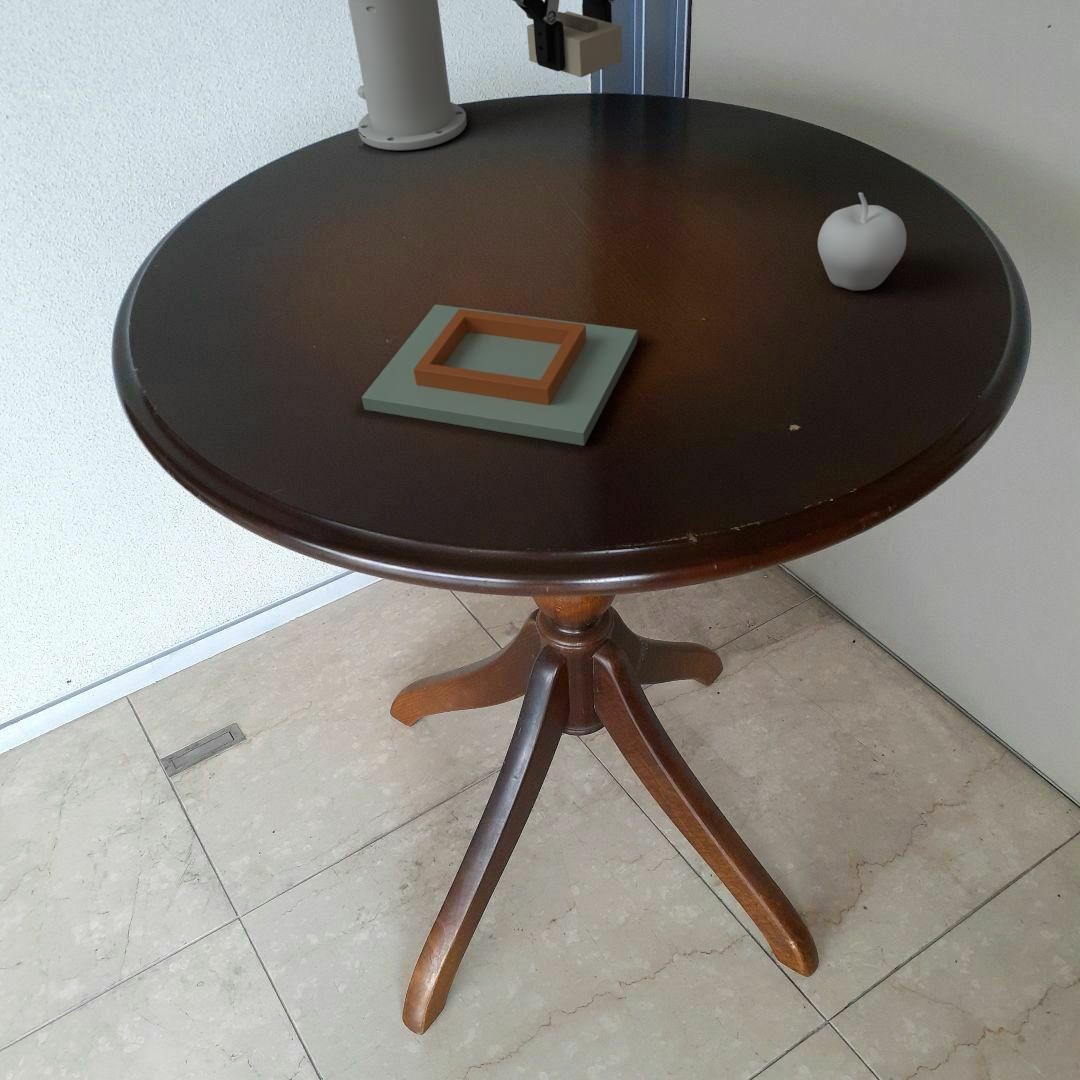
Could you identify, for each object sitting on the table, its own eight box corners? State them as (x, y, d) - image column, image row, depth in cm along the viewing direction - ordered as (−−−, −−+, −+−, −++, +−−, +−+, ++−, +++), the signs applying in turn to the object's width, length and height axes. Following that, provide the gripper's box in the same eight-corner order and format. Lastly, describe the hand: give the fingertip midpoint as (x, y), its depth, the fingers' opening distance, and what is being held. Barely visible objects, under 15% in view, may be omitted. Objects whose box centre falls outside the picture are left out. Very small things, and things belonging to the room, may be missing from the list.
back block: (529, 60, 94) (525, 18, 91) (569, 45, 96) (567, 3, 93) (581, 77, 89) (579, 33, 87) (622, 61, 92) (621, 18, 89)
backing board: (364, 409, 80) (357, 381, 78) (437, 316, 89) (432, 288, 87) (584, 446, 74) (582, 416, 73) (637, 342, 84) (637, 313, 82)
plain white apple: (804, 264, 91) (814, 177, 85) (885, 257, 91) (900, 169, 85) (823, 306, 86) (835, 215, 80) (909, 298, 86) (926, 207, 80)
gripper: (608, -208, 86) (614, 24, 98) (447, -170, 78) (475, 76, 91) (674, -202, 82) (671, 40, 94) (509, -161, 74) (530, 96, 87)
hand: (574, 55), depth 92 cm, fingers closed on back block, 5 cm apart
